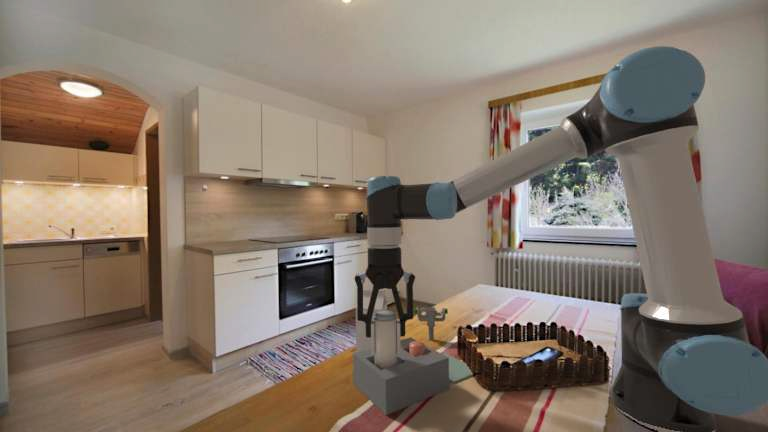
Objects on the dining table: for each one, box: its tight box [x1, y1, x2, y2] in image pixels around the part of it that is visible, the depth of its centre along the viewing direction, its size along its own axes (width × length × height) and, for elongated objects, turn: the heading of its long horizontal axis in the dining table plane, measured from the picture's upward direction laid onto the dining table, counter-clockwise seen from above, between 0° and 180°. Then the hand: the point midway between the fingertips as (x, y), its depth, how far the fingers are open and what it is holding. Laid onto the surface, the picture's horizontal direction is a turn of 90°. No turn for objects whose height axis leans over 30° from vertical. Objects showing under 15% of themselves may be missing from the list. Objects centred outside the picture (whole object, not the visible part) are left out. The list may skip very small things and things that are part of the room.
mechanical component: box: [413, 306, 448, 342], centre depth 97 cm, size 3×10×10 cm, turn 89°
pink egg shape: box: [409, 340, 426, 357], centre depth 73 cm, size 4×4×8 cm
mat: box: [442, 352, 474, 384], centre depth 79 cm, size 12×9×1 cm
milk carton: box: [355, 289, 388, 353], centre depth 84 cm, size 7×7×19 cm
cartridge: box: [374, 310, 398, 370], centre depth 69 cm, size 5×5×16 cm
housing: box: [352, 337, 450, 416], centre depth 71 cm, size 14×17×7 cm
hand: (385, 350), depth 69 cm, fingers closed on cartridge, 5 cm apart
